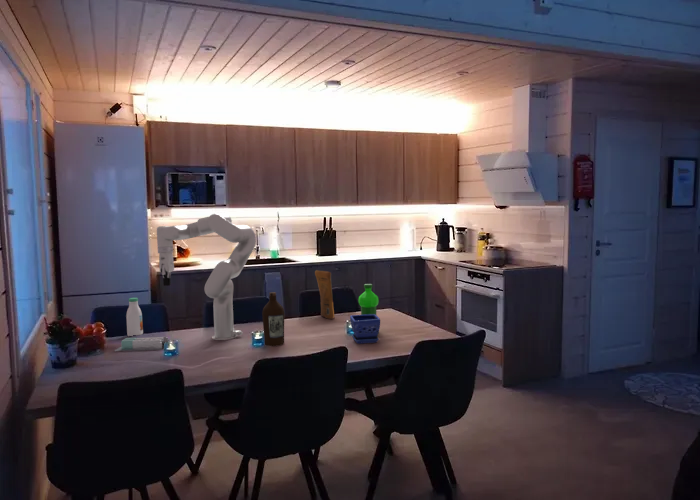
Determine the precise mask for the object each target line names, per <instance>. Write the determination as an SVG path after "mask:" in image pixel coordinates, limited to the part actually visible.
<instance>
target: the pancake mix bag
mask: <svg viewBox="0 0 700 500" xmlns="http://www.w3.org/2000/svg"><path fill="white" fill-rule="evenodd" d="M314 275H315V278H316V281H317V286H318V289H319V295H320V296H319V297H320V316H321V317H323V318H325V319H328V320H329V319H331V320H332V319H334V318H335V310H334V308H335V307H334V300H333V286H332V272H330V271H327V270H318V269H316V270H315V271H314Z"/></svg>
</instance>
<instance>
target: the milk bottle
mask: <svg viewBox="0 0 700 500" xmlns="http://www.w3.org/2000/svg"><path fill="white" fill-rule="evenodd" d="M138 302H139V298H138V297H130V298H128V304H129V305H128V308H127V311H126V333H127V334H126V335H127V336H128V337H129V336H132V337H134V336H133V335H136V336H140V335H143V334H144V327H143V325H144V324H143V313H142V310H141V308H140V306H139V303H138Z"/></svg>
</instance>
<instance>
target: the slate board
mask: <svg viewBox="0 0 700 500" xmlns="http://www.w3.org/2000/svg"><path fill="white" fill-rule="evenodd" d="M173 340H178V343H179V342H180V341H181V340H182V338H177V339H176V338H175V339H173ZM161 350H164V347H163V349H131V350H122V345H121V346H120V347H118V348H116V349H114V352H130V351H131V352H133V351H135V352H136V351H161Z"/></svg>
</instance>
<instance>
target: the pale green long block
mask: <svg viewBox="0 0 700 500" xmlns="http://www.w3.org/2000/svg"><path fill="white" fill-rule="evenodd" d="M162 337H163V342H164V343H165V342H168V340H169V339H168V338H169V336H162ZM163 342H162V339H143V340H134V339H127V340H124V339H122V340H121V342H120V343H121V346H122V350H131V349H163Z"/></svg>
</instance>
